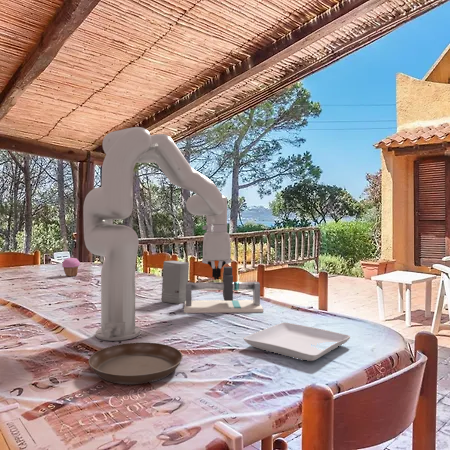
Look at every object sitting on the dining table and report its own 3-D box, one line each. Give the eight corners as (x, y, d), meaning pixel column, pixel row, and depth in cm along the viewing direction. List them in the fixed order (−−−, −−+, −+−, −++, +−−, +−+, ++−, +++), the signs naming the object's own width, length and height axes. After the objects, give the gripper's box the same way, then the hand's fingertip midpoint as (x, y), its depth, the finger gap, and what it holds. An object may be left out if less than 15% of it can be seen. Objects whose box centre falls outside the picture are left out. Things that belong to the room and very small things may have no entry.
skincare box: (161, 302, 159) (161, 261, 159) (171, 298, 166) (171, 259, 165) (179, 304, 155) (179, 263, 155) (189, 300, 162) (189, 261, 161)
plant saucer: (185, 354, 103) (185, 341, 103) (178, 390, 82) (179, 374, 82) (102, 354, 102) (102, 341, 102) (75, 390, 82) (75, 374, 82)
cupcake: (83, 275, 221) (83, 257, 220) (69, 278, 213) (69, 258, 213) (72, 274, 225) (72, 256, 225) (58, 276, 218) (58, 257, 218)
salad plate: (283, 331, 123) (283, 320, 123) (351, 347, 109) (352, 334, 109) (240, 350, 106) (241, 337, 106) (315, 370, 93) (315, 355, 93)
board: (263, 312, 145) (263, 308, 145) (183, 312, 143) (184, 309, 143) (257, 303, 159) (257, 299, 159) (185, 303, 157) (185, 300, 157)
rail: (259, 305, 150) (260, 282, 149) (185, 306, 148) (185, 283, 147) (258, 302, 154) (258, 280, 153) (186, 303, 152) (186, 281, 151)
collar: (232, 300, 146) (233, 268, 146) (224, 300, 146) (224, 269, 146) (230, 295, 155) (231, 265, 155) (222, 295, 155) (223, 265, 155)
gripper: (196, 229, 145) (196, 281, 146) (238, 229, 146) (237, 280, 147) (196, 228, 153) (196, 277, 153) (236, 228, 154) (235, 277, 154)
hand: (216, 278), depth 150 cm, fingers closed
